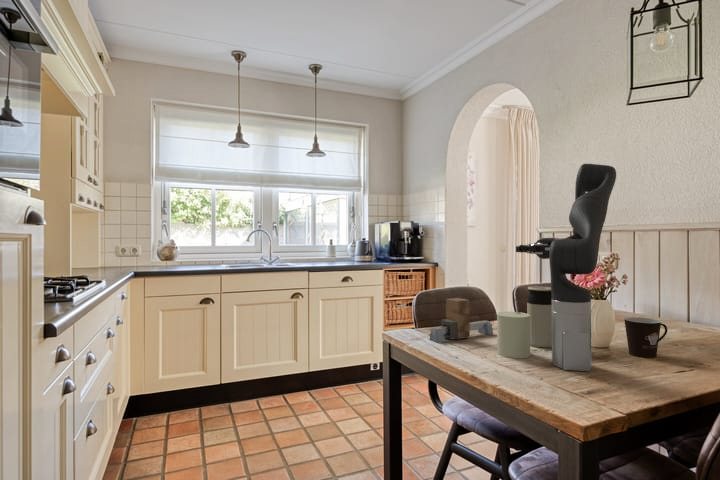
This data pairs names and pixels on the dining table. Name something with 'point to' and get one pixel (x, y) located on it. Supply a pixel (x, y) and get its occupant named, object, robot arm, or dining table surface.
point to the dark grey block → (452, 328)
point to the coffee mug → (643, 336)
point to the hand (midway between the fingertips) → (517, 249)
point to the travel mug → (540, 316)
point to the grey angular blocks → (440, 334)
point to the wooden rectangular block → (459, 315)
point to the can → (513, 334)
